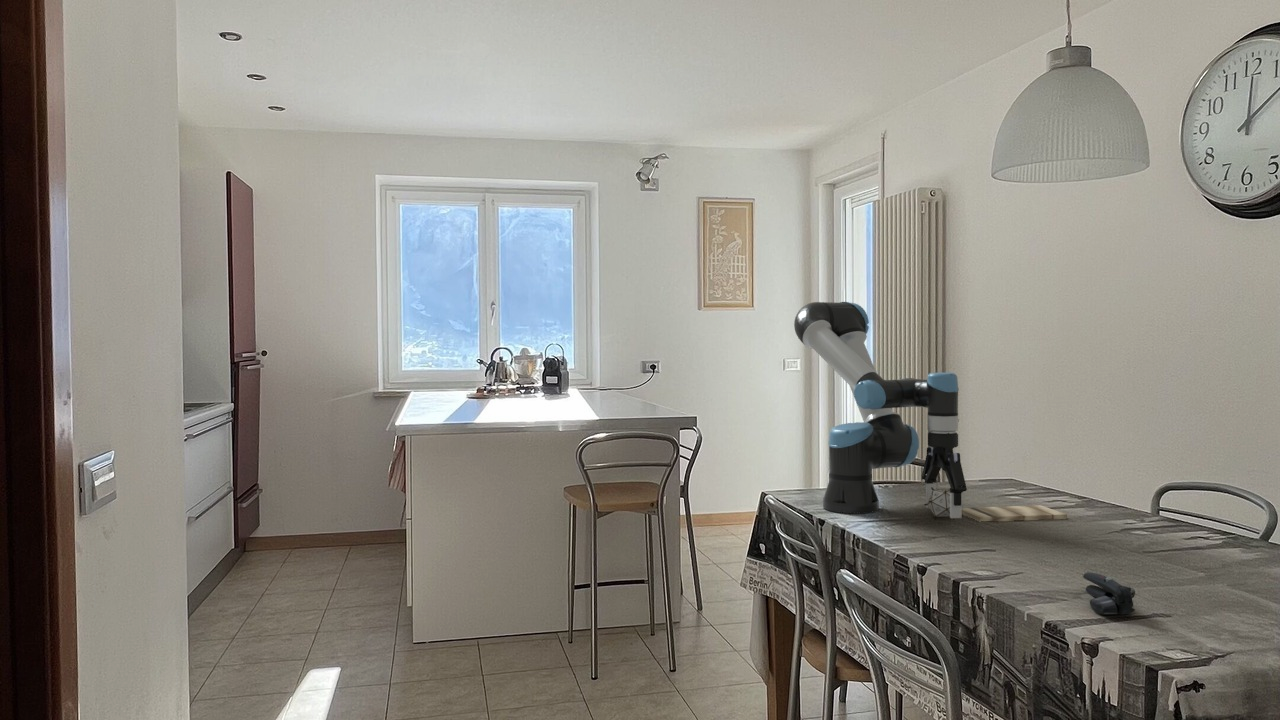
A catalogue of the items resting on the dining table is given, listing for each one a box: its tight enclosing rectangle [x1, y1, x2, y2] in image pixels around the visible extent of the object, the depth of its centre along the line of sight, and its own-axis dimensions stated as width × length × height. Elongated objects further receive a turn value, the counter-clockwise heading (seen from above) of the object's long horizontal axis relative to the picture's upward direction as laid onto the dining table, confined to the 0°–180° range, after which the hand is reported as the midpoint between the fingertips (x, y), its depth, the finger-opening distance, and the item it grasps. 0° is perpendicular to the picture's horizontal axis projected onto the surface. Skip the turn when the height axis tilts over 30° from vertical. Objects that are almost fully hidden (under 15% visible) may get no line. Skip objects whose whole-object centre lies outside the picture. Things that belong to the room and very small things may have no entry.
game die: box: [923, 487, 963, 520], centre depth 227 cm, size 9×8×10 cm
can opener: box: [1082, 572, 1136, 616], centre depth 155 cm, size 18×7×6 cm, turn 168°
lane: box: [962, 504, 1068, 522], centre depth 230 cm, size 24×12×1 cm, turn 97°
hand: (943, 512), depth 227 cm, fingers open, 13 cm apart
